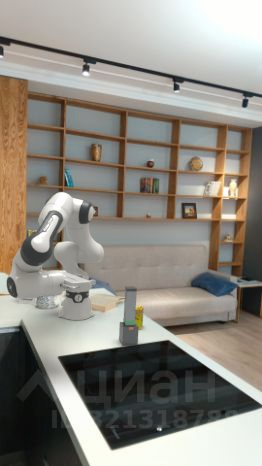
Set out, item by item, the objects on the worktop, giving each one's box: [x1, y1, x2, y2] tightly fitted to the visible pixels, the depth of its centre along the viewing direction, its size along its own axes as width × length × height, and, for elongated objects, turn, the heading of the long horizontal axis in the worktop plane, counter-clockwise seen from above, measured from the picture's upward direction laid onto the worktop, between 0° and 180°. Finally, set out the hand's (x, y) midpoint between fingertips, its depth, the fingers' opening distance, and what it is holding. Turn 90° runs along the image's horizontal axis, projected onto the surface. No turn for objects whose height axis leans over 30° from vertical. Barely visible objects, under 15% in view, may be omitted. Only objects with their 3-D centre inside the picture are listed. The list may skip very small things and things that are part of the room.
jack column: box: [122, 285, 138, 326], centre depth 148 cm, size 4×4×17 cm
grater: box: [18, 298, 37, 306], centre depth 206 cm, size 10×10×20 cm
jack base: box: [118, 321, 140, 347], centre depth 149 cm, size 12×14×9 cm
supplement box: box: [135, 305, 145, 331], centre depth 169 cm, size 6×6×11 cm
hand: (88, 279), depth 134 cm, fingers open, 8 cm apart
